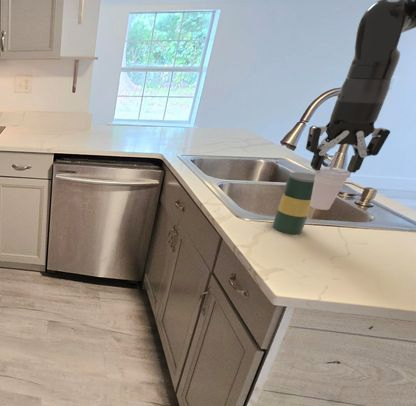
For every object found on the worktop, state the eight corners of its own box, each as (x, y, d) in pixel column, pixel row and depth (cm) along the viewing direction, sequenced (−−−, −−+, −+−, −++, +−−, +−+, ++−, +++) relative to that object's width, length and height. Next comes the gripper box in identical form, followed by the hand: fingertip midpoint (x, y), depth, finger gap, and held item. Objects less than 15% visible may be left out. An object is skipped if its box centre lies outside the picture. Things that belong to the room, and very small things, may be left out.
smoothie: (317, 200, 95) (336, 148, 89) (344, 210, 89) (366, 155, 83) (296, 203, 94) (314, 150, 88) (321, 213, 88) (343, 157, 83)
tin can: (306, 231, 104) (327, 177, 97) (293, 236, 101) (313, 182, 95) (279, 221, 110) (297, 170, 103) (266, 226, 107) (283, 174, 100)
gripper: (328, 101, 80) (303, 173, 87) (414, 102, 76) (381, 178, 82) (312, 96, 86) (290, 164, 93) (390, 97, 82) (361, 168, 89)
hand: (333, 170), depth 88 cm, fingers closed on smoothie, 6 cm apart
